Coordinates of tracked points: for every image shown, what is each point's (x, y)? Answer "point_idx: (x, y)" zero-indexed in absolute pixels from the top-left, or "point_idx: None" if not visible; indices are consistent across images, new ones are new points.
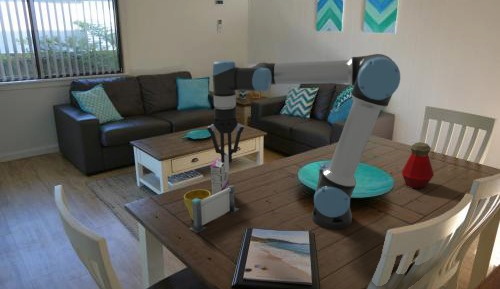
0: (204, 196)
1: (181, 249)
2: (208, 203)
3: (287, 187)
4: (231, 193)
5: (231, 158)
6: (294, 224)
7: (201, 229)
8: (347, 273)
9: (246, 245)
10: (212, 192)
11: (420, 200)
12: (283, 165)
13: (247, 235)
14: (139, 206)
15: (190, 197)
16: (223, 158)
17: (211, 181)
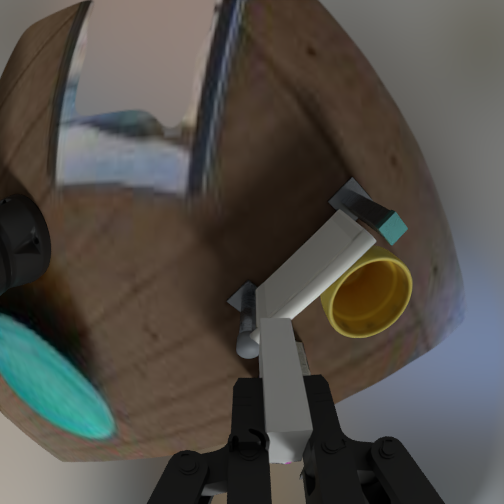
0: (340, 317)
1: (385, 104)
2: (336, 252)
3: (119, 382)
4: (248, 328)
5: (235, 407)
6: (81, 214)
7: (341, 190)
8: (32, 44)
9: (207, 100)
10: (305, 360)
11: None
12: (146, 445)
13: (202, 153)
14: (454, 314)
15: (381, 310)
16: (313, 405)
17: None
